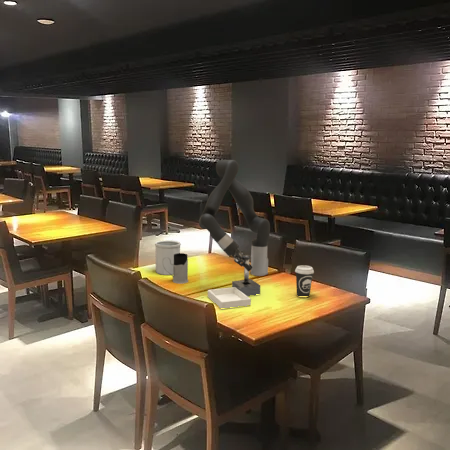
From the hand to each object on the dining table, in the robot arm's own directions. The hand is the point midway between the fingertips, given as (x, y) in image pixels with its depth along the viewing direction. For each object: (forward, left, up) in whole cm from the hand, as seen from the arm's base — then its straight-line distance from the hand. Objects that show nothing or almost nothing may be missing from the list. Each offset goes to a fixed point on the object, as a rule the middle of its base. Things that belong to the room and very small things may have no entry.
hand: (250, 269), depth 257 cm
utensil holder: (+30, -50, -13) cm, 60 cm away
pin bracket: (+2, -1, -13) cm, 13 cm away
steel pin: (+2, -1, -7) cm, 7 cm away
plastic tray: (+15, +8, -13) cm, 21 cm away
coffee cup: (-24, +13, -13) cm, 30 cm away
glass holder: (+31, -31, -13) cm, 46 cm away
